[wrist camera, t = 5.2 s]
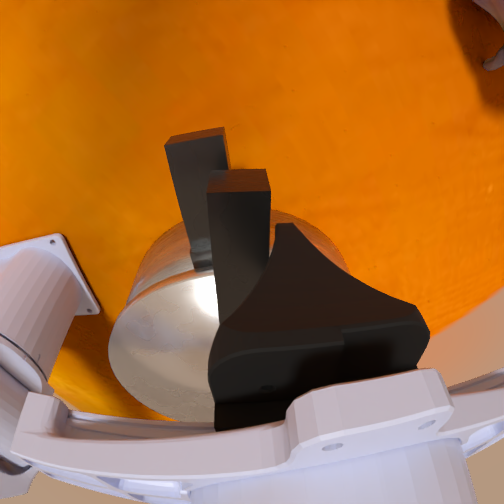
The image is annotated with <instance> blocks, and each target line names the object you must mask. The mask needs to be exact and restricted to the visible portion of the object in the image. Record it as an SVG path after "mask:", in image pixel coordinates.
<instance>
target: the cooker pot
mask: <svg viewBox="0 0 504 504" xmlns="http://www.w3.org/2000/svg"><path fill="white" fill-rule="evenodd" d="M164 147H165V151H166V155H167V159H168V163H169V168H170V172H171V176H172V180H173V183H174V187H175V191H176V195H177V199H178V203H179V206H180V210H181V214H182V218H183V221H182V222H180V223H178V224H176V225H175V226H173V227H172V228H171V229H169V230H168V231H166V232H165V233H164V234H163V235H161V236H160V237H159V238H158V239H157V240H156V241H155V242H154V243H153V245H152V246H151V247H150V249H149V250H148V251H147V252H146V254H145V256H144V258H143V260H142V262H141V264H140V267H139V269H138V272H137V275H136V278H135V280H134V283H133V286H132V289H131V292H130V294H129V297H128V300H127V303H126V305H127V304H128V303H129V302H130V301H131V300H132V299H133V298H134V297H135V296H136V295H138V294H139V293H141V292H142V291H144V290H145V289H147V288H148V287H150V286H151V285H153V284H155V283H157V282H159V281H162V280H164V279H166V278H168V277H170V276H173V275H176V274H180V273H183V272H186V271H189V270H192V269H198V268H203V267H208V266H213V262H212V252H211V241H210V231H209V220H208V208H207V196H206V192H207V187H208V182H209V177H210V172H211V171H213V170H231V164H230V158H229V152H228V146H227V141H226V135H225V129H224V127H219V128H213V129H207V130H202V131H196V132H191V133H186V134H181V135H176V136H171V137H170V139H169V140H168V141H167V142H166V144H165V145H164ZM292 222H293V223H294V224H295V226H296V227H297V228H298V229H299V230H300V231H301V232H302V233H303V234H304V236H305V237H306V238H307V239H308V240H309V241H310V242H311V243H312V244H313V245H314V246H315V247H316V248H317V249H318V250H319V251H320V252H321V253H322V254H323V255H325V256H326V257H327V258H328V259H329V260H330V261H332V262H333V263H334V264H335V265H337V266H338V267H340V268H341V269H342V270H344V271H345V272H347V273H348V274H350V272H349V270H348V268H347V266H346V263H345V261H344V259H343V257H342V255H341V254H340V252H339V250H338V248H337V247H336V246H335V245H334V244H333V242H332V241H331V240H330V239H329V238H328V237H327V236H326V235H325V234H324V233H322V232H321V231H320V230H319V229H317V228H316V227H314V226H313V225H311V224H309V223H308V222H306V221H304V220H302V219H300V218H297V217H295V216H293V215H290V214H287V213H283V212H280V211H277V210H271V211H270V249H269V257H270V254H271V252H272V248H273V244H274V241H275V225H276V224H277V223H292Z"/></svg>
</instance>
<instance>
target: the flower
mask: <svg viewBox="0 0 504 504" xmlns="http://www.w3.org/2000/svg"><path fill="white" fill-rule="evenodd" d="M473 1H474V2H475V3H476V4H478V5H479V6H481V7H482V8H483V9H485V10H486V11H487V12H489V13H490V14H491V15H492V16H493V17H494V18H495V19H496V20H497V21H498V22H499V24H500V25H501V27H502V29H503V31H504V0H473ZM503 65H504V45H503V46H502V47H501V48H500V49H499V51H498V52H497V54H496V55H495V56H494V57H492V58H489V59H487V60H486V61H485V62H484V64H483V67H484V68H485V69H486V70H488V71H491V70H495V69H497V68H499V67H501V66H503Z"/></svg>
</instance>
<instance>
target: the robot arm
mask: <svg viewBox="0 0 504 504" xmlns="http://www.w3.org/2000/svg"><path fill="white" fill-rule="evenodd" d="M53 240H54V241H55V242H53ZM99 312H100V306H99V305H98V303H97V301H96V299H95V298H94V296H93V294H92V292H91V290H90V288H89V287H88V285H87V283H86V281H85V279H84V277H83V275H82V273H81V271H80V269H79V267H78V265H77V263H76V261H75V259H74V257H73V255H72V253H71V251H70V249H69V247H68V245H67V243H66V241H65V238H64V237H63V236H62V235H61V234H59V233H56V234H52V235H47V236H43V237H39V238H34V239H30V240H26V241H22V242H18V243H14V244H10V245H6V246H2V247H0V499H2V498H9V497H14V496H19V495H23V494H26V493H28V490H29V487H30V485H31V483H32V481H33V479H34V478H35V476H36V475H37V473H38V472H39V471H40V472H42V473H44V474H45V475H47V476H49V477H51V478H54V479H57V480H60V481H63V482H66V483H69V484H73V485H76V486H79V487H83V488H86V489H90V490H94V491H98V492H101V493H105V494H109V495H113V496H117V497H121V498H126V499H130V500H135V501H140V502H145V503H151V504H478V503H477V499H476V495H475V491H474V487H473V484H472V480H471V476H470V473H469V470H468V466H467V463H466V460H465V459H466V458H468V457H469V456H472V455H474V454H475V453H477V452H479V451H481V450H483V449H485V448H487V447H488V446H490V445H492V444H494V443H496V442H497V441H499V440H500V439H502V438H504V367H503V368H500V369H498V370H495V371H493V372H490V373H488V374H485V375H482V376H480V377H477V378H474V379H471V380H468V381H465V382H462V383H459V384H456V385H453V386H450V387H446V385H445V382H444V380H443V378H442V376H441V374H440V373H439V372H438V371H437V370H436V369H433V368H423V369H418V368H417V366H416V365H417V363H418V361H419V360H420V358H421V356H422V354H423V353H424V351H425V349H426V347H427V345H428V342H429V339H430V331H429V329H428V327H427V325H426V323H425V321H424V319H423V317H422V315H421V313H420V312H419V310H418V309H417V307H416V305H413V304H410V303H408V302H405V301H402V300H399V299H397V298H394V297H391V296H389V295H387V294H385V293H382V292H380V291H378V290H376V289H374V288H372V287H370V286H368V285H366V284H365V283H363V282H361V281H359V280H358V279H356V278H354V277H353V276H351V275H350V274H348V273H347V272H345V271H344V270H342V269H341V268H340V267H338V266H337V265H335V264H334V263H333V262H332V261H330V260H329V259H328V258H327V257H326V256H325V255H323V254H322V253H321V252H320V251H319V250H318V249H317V248H316V247H315V246H314V245H313V244H312V243H311V242H310V241H309V240H308V239H307V238H306V237H305V236H304V234H303V233H302V232H301V231H300V230H299V229H298V228H297V227H296V226H295V224H294V223H293V222H292V223H277V224H276V225H275V241H274V244H273V248H272V252H271V254H270V257H269V259H268V262H267V264H266V267H265V269H264V271H263V273H262V275H261V276H260V278H259V280H258V281H257V283H256V285H255V286H254V288H253V289H252V291H251V292H250V293H249V295H248V296H247V297H246V298H245V300H244V301H243V302H242V303H241V304H240V306H239V307H238V308H237V309H236V310H235V311H234V312H233V313H232V314H231V315H230V316H229V317H228V318H227V319H225V320H224V321H223V322H222V323H221V324H220V325H219V327H218V330H217V332H216V335H215V337H214V340H213V343H212V346H211V350H210V354H209V359H208V383H209V387H210V390H211V393H212V396H213V400H214V403H215V404H214V422H177V421H158V420H145V419H133V418H124V417H115V416H107V415H100V414H93V413H87V412H81V411H74V410H69V409H68V407H67V406H66V405H65V404H64V403H63V402H62V401H61V400H60V399H58V398H56V397H54V396H53V393H54V389H53V388H52V387H51V386H50V385H49V384H48V380H49V377H50V374H51V372H52V369H53V366H54V364H55V361H56V359H57V356H58V353H59V351H60V349H61V346H62V344H63V341H64V339H65V336H66V334H67V332H68V329H69V327H70V325H71V323H72V320H73V318H74V316H75V315H91V314H98V313H99Z"/></svg>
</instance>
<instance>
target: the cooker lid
mask: <svg viewBox="0 0 504 504" xmlns="http://www.w3.org/2000/svg"><path fill="white" fill-rule="evenodd" d="M206 196H207V208H208V220H209V231H210V241H211V252H212V262H213V266H208V267H203V268H198V269H192V270H189V271H186V272H183V273H180V274H176V275H173V276H170V277H168V278H166V279H164V280H162V281H159V282H157V283H155V284H153V285H151V286H150V287H148V288H147V289H145V290H144V291H142V292H141V293H139V294H138V295H136V296H135V297H134V298H133V299H132V300H131V301H130V302H129V303H128V304H127V305H126V306H125V307H124V309H123V310H122V311H121V313H120V314H119V315H118V318H117V320H116V322H115V324H114V326H113V329H112V333H111V336H110V340H109V345H108V355H109V361H110V364H111V368H112V370H113V372H114V374H115V376H116V378H117V379H118V380H119V382H120V383H121V385H122V386H123V387H124V388H125V389H126V390H127V391H128V392H129V393H130V394H131V395H132V396H133V397H134V398H136V399H137V400H138V401H140V402H141V403H143V404H144V405H146V406H147V407H149V408H150V409H152V410H154V411H156V412H158V413H160V414H162V415H165V416H167V417H169V418H172V419H175V420H178V421H181V422H214V404H215V403H214V400H213V396H212V393H211V390H210V387H209V383H208V359H209V354H210V350H211V346H212V343H213V340H214V337H215V335H216V332H217V330H218V327H219V325H220V324H221V323H222V322H223V321H224V320H225V319H227V318H228V317H229V316H230V315H231V314H232V313H233V312H234V311H235V310H236V309H237V308H238V307H239V306H240V304H241V303H242V302H243V301H244V300H245V298H246V297H247V296H248V295H249V293H250V292H251V291H252V289H253V288H254V286H255V285H256V283H257V281H258V280H259V278H260V276H261V275H262V273H263V271H264V269H265V267H266V264H267V262H268V259H269V249H270V211H271V189H270V185H269V181H268V177H267V173H266V169H239V170H213V171H211V172H210V177H209V182H208V187H207V192H206Z"/></svg>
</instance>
